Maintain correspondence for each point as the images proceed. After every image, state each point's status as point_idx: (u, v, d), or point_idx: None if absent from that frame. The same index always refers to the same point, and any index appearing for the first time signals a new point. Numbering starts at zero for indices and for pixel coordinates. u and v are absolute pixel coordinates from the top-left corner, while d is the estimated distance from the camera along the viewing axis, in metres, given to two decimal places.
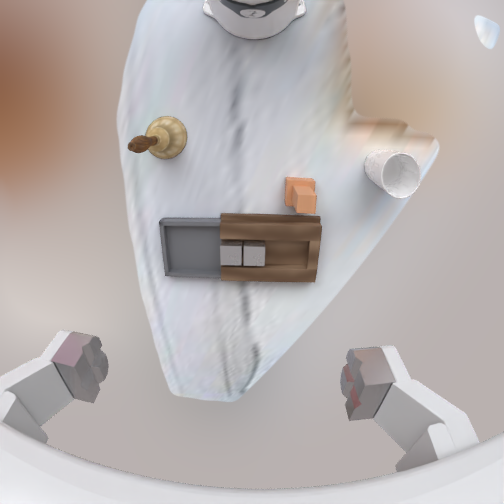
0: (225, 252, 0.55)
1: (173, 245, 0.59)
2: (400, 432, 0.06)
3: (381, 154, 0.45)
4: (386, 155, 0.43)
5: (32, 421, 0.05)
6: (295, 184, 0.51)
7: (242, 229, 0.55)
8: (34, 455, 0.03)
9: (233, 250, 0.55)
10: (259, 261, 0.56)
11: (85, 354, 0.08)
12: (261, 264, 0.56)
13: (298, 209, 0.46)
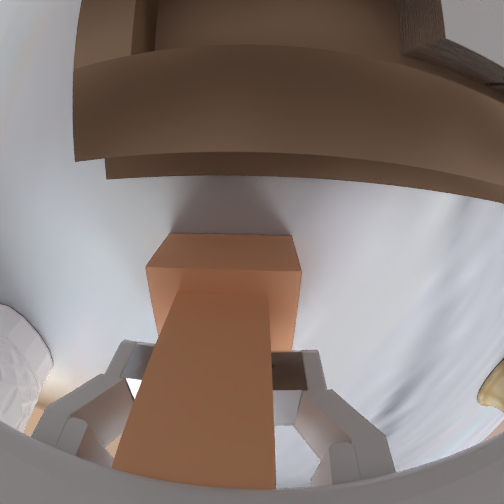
0: None
1: None
2: (317, 444, 0.06)
3: None
4: None
5: (102, 447, 0.05)
6: None
7: None
8: (34, 455, 0.03)
9: None
10: None
11: None
12: None
13: None
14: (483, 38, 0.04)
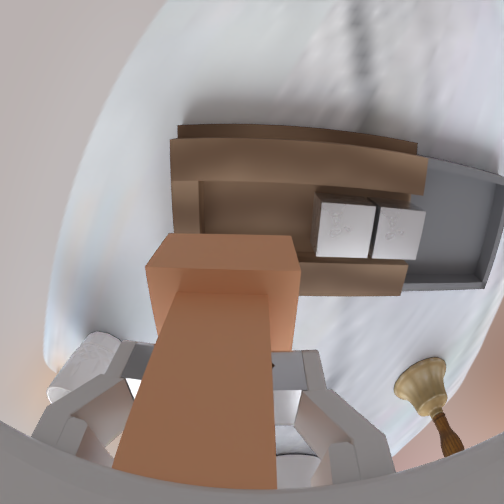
0: (409, 243, 0.20)
1: (479, 231, 0.23)
2: (317, 444, 0.06)
3: None
4: None
5: (102, 447, 0.05)
6: None
7: (359, 285, 0.23)
8: (34, 455, 0.03)
9: (391, 248, 0.20)
10: (334, 216, 0.20)
11: None
12: (328, 208, 0.19)
13: None
14: (338, 248, 0.21)
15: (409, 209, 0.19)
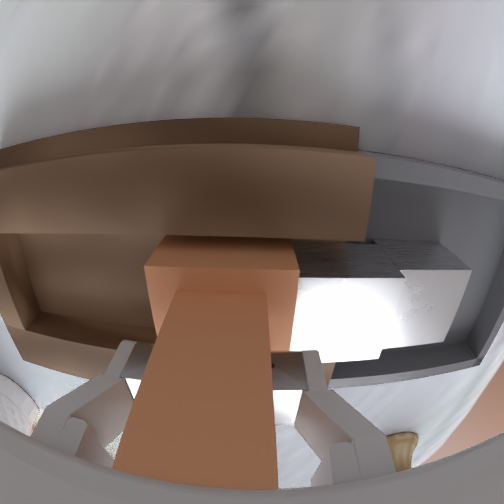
0: (438, 321, 0.11)
1: (481, 281, 0.14)
2: (318, 444, 0.06)
3: None
4: None
5: (102, 447, 0.05)
6: None
7: None
8: (34, 455, 0.03)
9: (409, 332, 0.11)
10: (323, 301, 0.10)
11: None
12: (311, 287, 0.10)
13: None
14: (328, 351, 0.11)
15: (446, 268, 0.10)
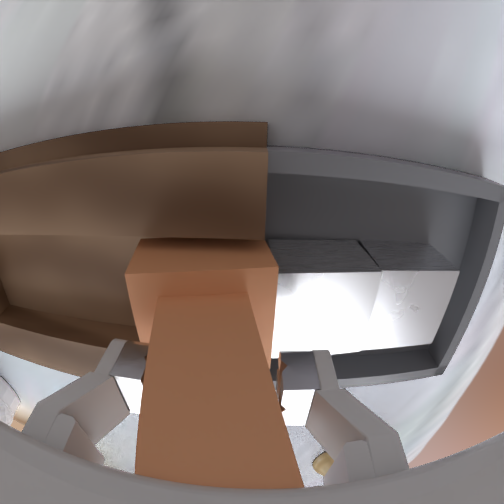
0: (425, 323, 0.11)
1: None
2: (329, 443, 0.06)
3: None
4: None
5: (91, 443, 0.05)
6: None
7: None
8: (34, 455, 0.03)
9: (394, 333, 0.11)
10: (302, 296, 0.10)
11: None
12: (290, 283, 0.10)
13: None
14: (310, 345, 0.11)
15: (432, 269, 0.10)
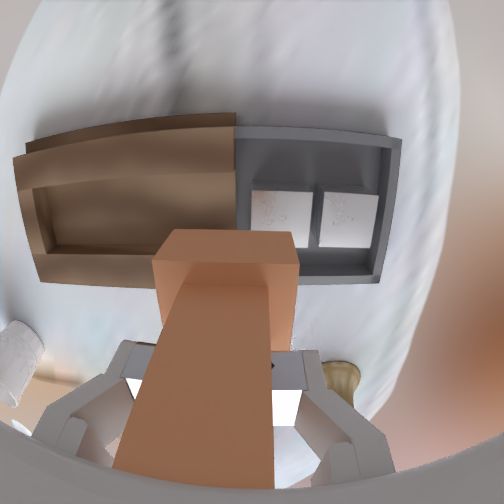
0: (360, 230, 0.20)
1: None
2: (317, 444, 0.06)
3: (27, 385, 0.26)
4: None
5: (102, 447, 0.05)
6: None
7: None
8: (34, 455, 0.03)
9: (340, 235, 0.20)
10: (266, 204, 0.19)
11: None
12: (259, 196, 0.19)
13: None
14: None
15: (359, 193, 0.19)
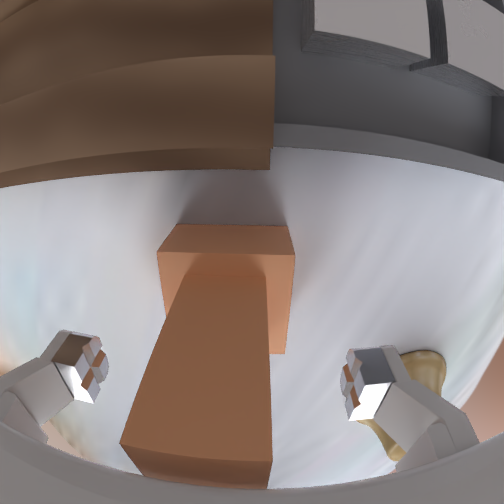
0: (501, 59, 0.06)
1: None
2: (400, 432, 0.06)
3: None
4: None
5: (32, 421, 0.05)
6: None
7: (140, 119, 0.08)
8: (34, 455, 0.03)
9: (476, 55, 0.06)
10: None
11: (85, 354, 0.08)
12: None
13: (257, 471, 0.05)
14: (365, 21, 0.06)
15: (483, 3, 0.05)
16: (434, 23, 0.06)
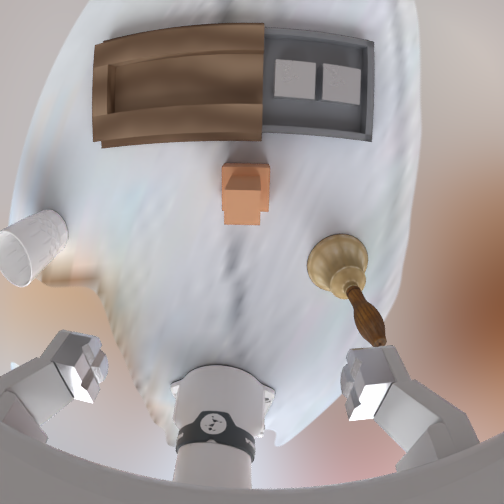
0: (351, 91, 0.25)
1: None
2: (400, 432, 0.06)
3: (45, 266, 0.32)
4: (37, 274, 0.30)
5: (32, 421, 0.05)
6: None
7: (220, 122, 0.27)
8: (34, 455, 0.03)
9: (336, 93, 0.25)
10: (285, 68, 0.25)
11: (85, 354, 0.08)
12: (280, 63, 0.24)
13: (257, 197, 0.24)
14: (290, 90, 0.26)
15: (346, 67, 0.24)
16: (321, 83, 0.26)
